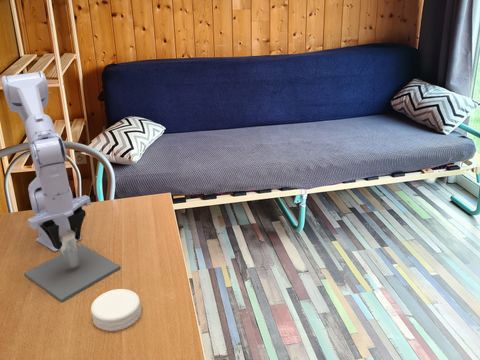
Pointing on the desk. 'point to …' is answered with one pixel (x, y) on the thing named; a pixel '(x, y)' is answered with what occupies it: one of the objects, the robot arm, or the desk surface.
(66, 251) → the milkshake
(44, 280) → the mat
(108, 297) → the white round tin
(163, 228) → the desk surface
